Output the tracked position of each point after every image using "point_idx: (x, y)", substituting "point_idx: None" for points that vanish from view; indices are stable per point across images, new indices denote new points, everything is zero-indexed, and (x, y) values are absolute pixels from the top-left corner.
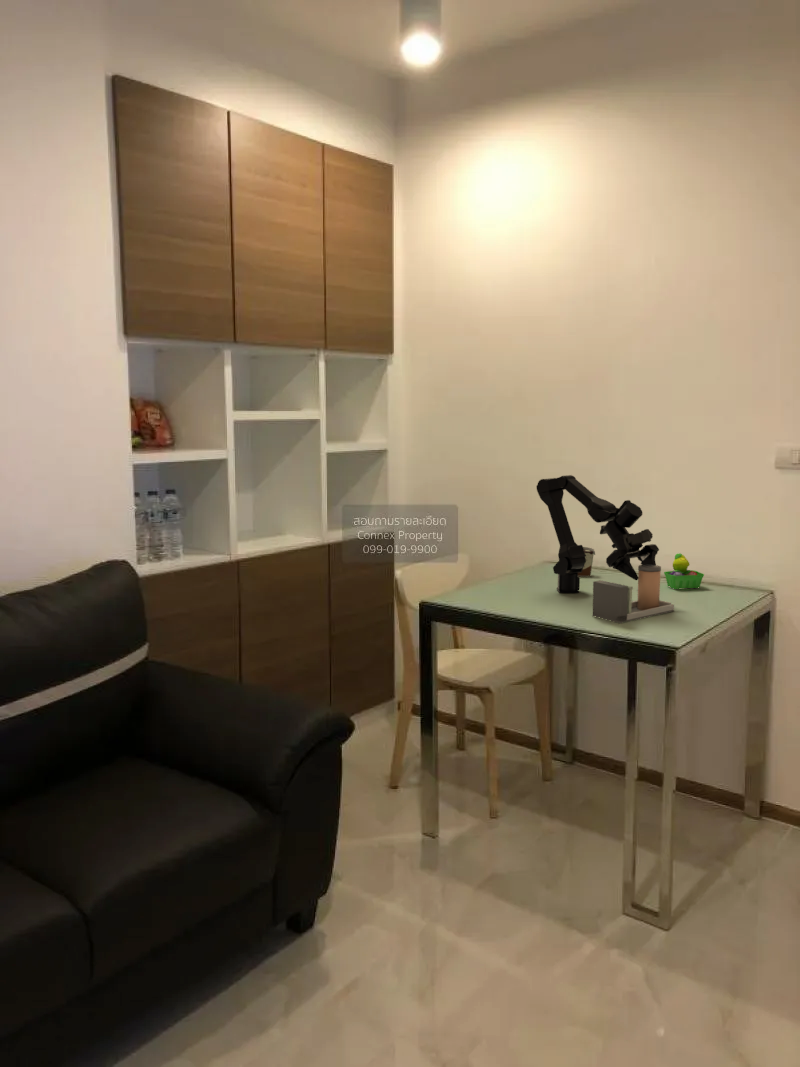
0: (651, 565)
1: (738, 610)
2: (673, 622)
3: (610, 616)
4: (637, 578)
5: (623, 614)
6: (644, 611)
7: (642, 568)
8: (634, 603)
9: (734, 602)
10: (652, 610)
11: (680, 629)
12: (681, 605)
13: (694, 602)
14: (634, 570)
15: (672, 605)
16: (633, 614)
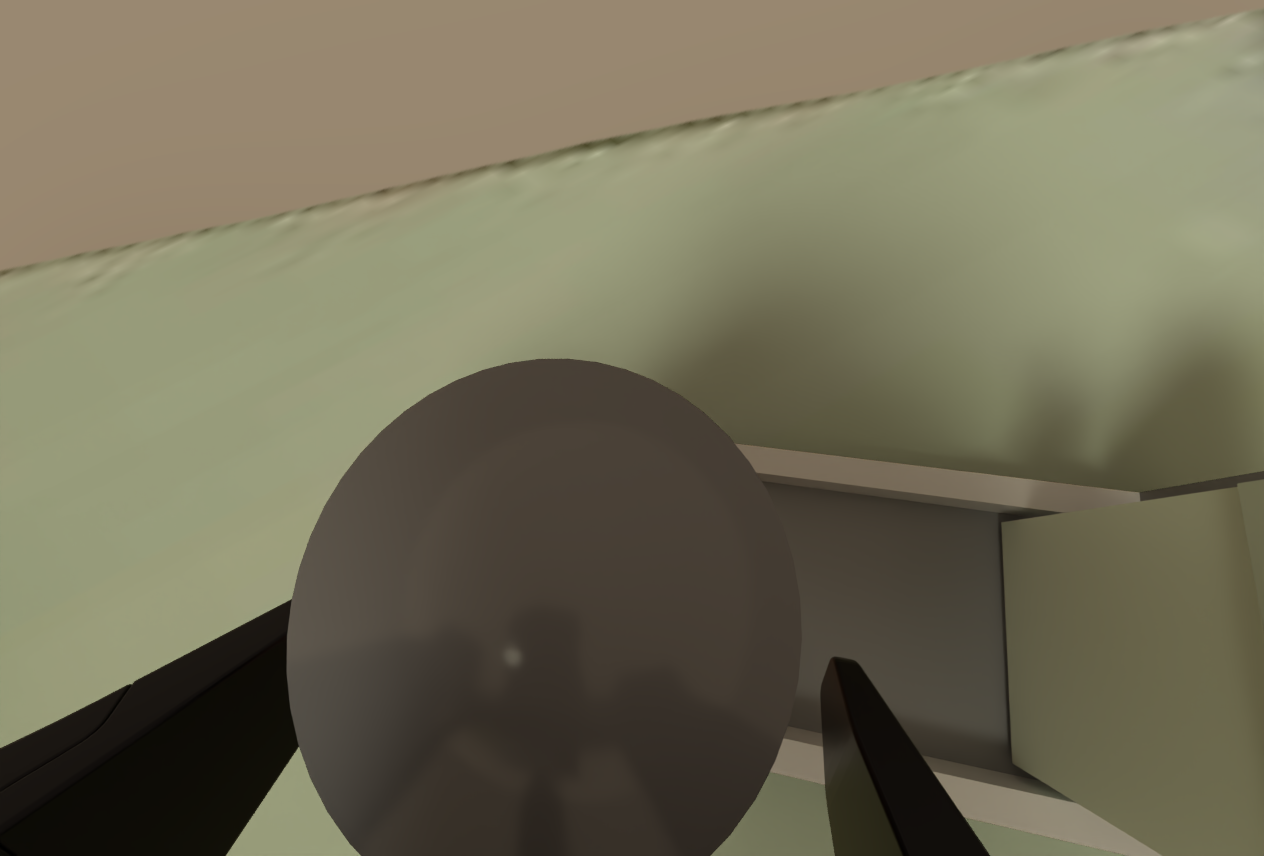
0: (378, 639)
1: (314, 212)
2: (817, 285)
3: None
4: (859, 664)
5: None
6: (889, 463)
7: (799, 645)
8: None
9: (144, 310)
10: (784, 452)
11: (930, 180)
12: None
13: (243, 464)
14: (898, 825)
15: None
16: (1040, 481)
